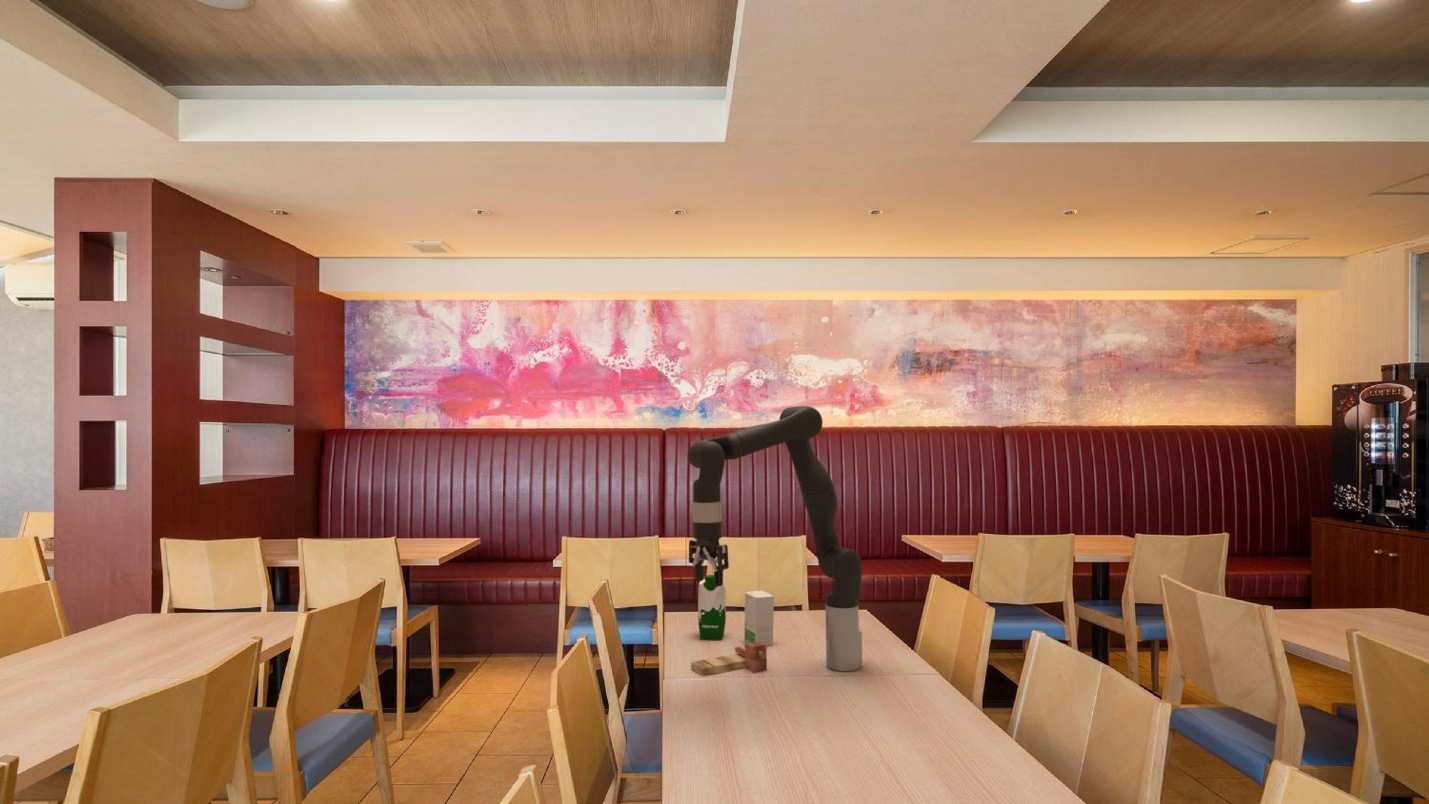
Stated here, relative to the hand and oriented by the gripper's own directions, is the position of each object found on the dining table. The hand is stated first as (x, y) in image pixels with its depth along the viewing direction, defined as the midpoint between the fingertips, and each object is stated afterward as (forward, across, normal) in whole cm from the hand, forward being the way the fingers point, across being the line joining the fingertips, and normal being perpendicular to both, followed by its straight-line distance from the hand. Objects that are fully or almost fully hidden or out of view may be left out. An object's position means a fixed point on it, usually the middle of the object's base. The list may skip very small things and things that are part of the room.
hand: (708, 583), depth 188 cm
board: (+28, +15, -16) cm, 36 cm away
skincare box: (+28, +28, -39) cm, 56 cm away
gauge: (+28, +12, -22) cm, 38 cm away
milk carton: (+28, +43, -31) cm, 60 cm away
